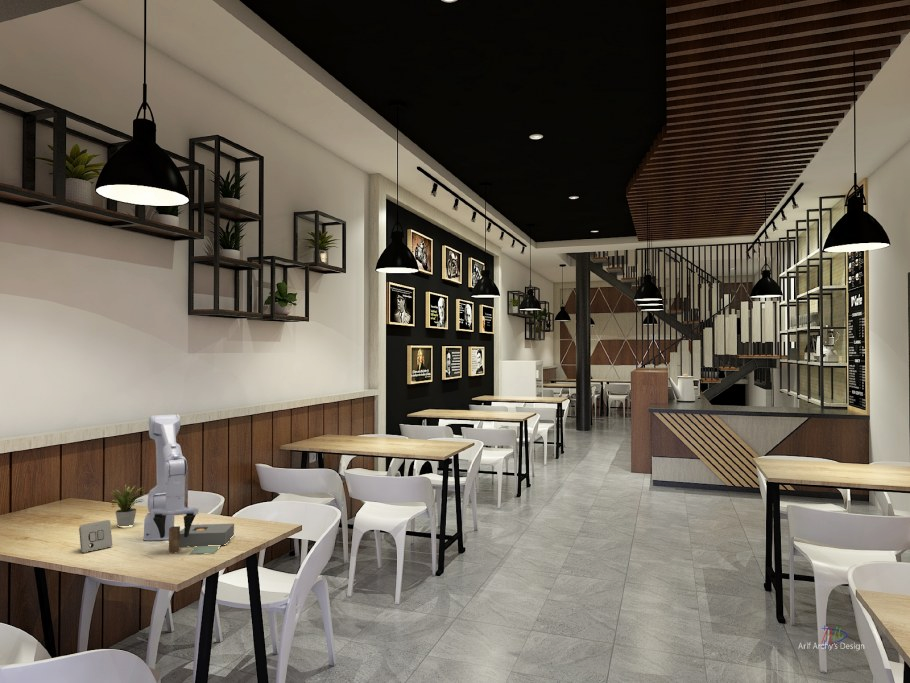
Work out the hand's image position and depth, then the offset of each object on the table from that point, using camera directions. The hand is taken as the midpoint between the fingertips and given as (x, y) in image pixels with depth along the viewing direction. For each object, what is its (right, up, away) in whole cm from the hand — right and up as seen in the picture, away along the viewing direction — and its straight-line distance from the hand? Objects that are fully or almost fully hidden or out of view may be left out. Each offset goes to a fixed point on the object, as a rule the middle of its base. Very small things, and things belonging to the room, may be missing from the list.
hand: (174, 536), depth 201 cm
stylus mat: (+10, -5, +1) cm, 11 cm away
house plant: (-34, -7, +30) cm, 46 cm away
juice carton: (-24, -8, +54) cm, 59 cm away
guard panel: (+6, -5, +12) cm, 14 cm away
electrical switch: (-29, -5, +3) cm, 29 cm away
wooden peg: (0, -5, 0) cm, 5 cm away
